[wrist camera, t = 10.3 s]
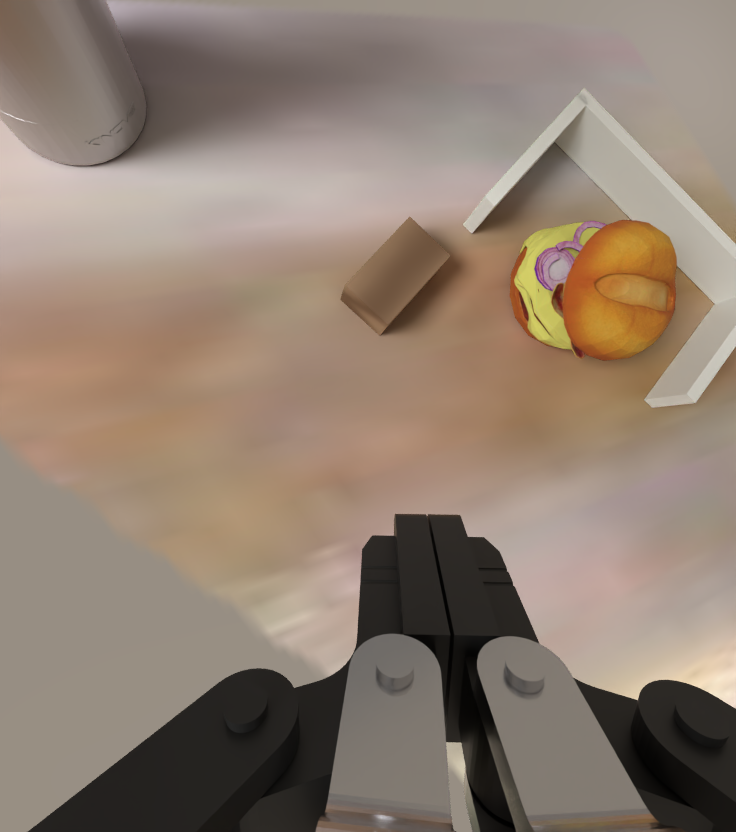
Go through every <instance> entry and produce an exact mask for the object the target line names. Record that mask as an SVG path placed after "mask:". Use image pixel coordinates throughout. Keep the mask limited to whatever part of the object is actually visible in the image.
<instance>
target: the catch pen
mask: <svg viewBox="0 0 736 832" xmlns="http://www.w3.org/2000/svg"><path fill="white" fill-rule="evenodd" d="M554 142H555V143H556V144H557V145H558V146H559V147H560V148H561V149H562V150H563V151H564V152H565V153H566V154H567V155H568V156H569V157H570V158H571V159H572V160H573V161H574V162H575V163H576V164H577V165H578V166H579V167H580V168H581V169H582V170H583V171H584V172H585V173H586V174H587V175H588V176H589V177H590V178H591V179H592V180H593V181H594V182H595V183H596V184H597V185H598V186H599V187H600V188H601V189H602V190H603V191H604V192H605V193H606V194H607V195H608V197H609V198H610V199H611V200H612V201H613V202H614V203H615V204H616V205H617V206H618V207H619V208H620V209H621V210H622V211H623V212H624V213H625V214H626V215H627V216H628V217H629V218H630V219H631V220H637V221H642V222H647V223H650V224H651V225H653V226H654V227H656V228H657V229H659V230H660V231H662V232H663V233H665V234H666V235H667V236H669V237H670V240H671V242H672V244H673V247H674V249H675V253H676V257H677V266H678V267H679V268H680V269H681V270H682V271H683V272H684V273H685V274H686V275H687V276H688V277H689V278H690V279H691V280H692V281H693V282H694V283H695V284H696V285H697V286H698V287H699V288H700V289H701V290H702V291H703V293H704V294H705V295H706V296H707V297H708V298H709V299H710V300H711V301H712V302H713V303H714V305H713V307H712V308H711V310H710V311H709V312H708V314H707V315H706V316H705V318H704V319H703V320H702V322H701V323H700V324H699V326H698V327H697V329H696V330H695V331H694V333H693V334H692V335H691V337H690V338H689V339H688V341H687V342H686V343H685V345H684V346H683V348H682V349H681V350H680V352H679V353H678V354H677V356H676V357H675V358H674V360H673V361H672V362H671V364H670V365H669V366H668V368H667V369H666V371H665V372H664V373H663V375H662V376H661V377H660V379H659V380H658V381H657V383H656V384H655V385H654V387H653V388H652V390H651V391H650V392H649V394H648V395H647V396H646V398H645V399H644V400H645V401H646V402H647V403H648V404H649V405H650V406H651V407H652V408H654V407H663V406H672V405H681V404H691V403H696V402H697V400H698V399H699V397H700V396H701V395H702V393H703V392H704V390H705V389H706V388H707V386H708V385H709V383H710V382H711V380H712V379H713V378H714V376H715V375H716V373H717V372H718V371H719V369H720V368H721V366H722V365H723V364H724V362H725V361H726V359H727V358H728V357H729V355H730V354H731V352H732V351H733V349H734V348H735V347H736V244H735V243H734V242H733V241H732V240H731V239H730V238H729V237H728V236H727V235H726V234H725V233H724V232H723V231H722V229H721V228H720V227H719V226H718V225H717V224H716V223H715V222H714V221H713V220H712V219H711V218H710V217H709V216H708V215H707V214H706V213H705V212H704V211H703V210H702V209H701V208H700V207H699V206H698V205H697V204H696V203H695V202H694V201H693V200H692V198H691V197H690V196H689V195H688V194H687V193H686V192H685V191H684V190H683V189H682V188H681V187H680V186H679V185H678V184H677V183H676V182H675V181H674V180H673V179H672V178H671V177H670V176H669V175H668V174H667V173H666V172H665V171H664V170H663V169H662V168H661V166H660V165H659V164H658V163H657V162H656V161H655V160H654V159H653V158H652V157H651V156H650V155H649V154H648V153H647V152H646V151H645V150H644V149H643V148H642V147H641V146H640V145H639V144H638V143H637V142H636V141H635V140H634V139H633V138H632V137H631V135H630V134H629V133H628V132H627V131H626V130H625V129H624V128H623V127H622V126H621V125H620V124H619V123H618V122H617V121H616V120H615V119H614V118H613V117H612V116H611V115H610V114H609V113H608V112H607V111H606V110H605V109H604V108H603V107H602V106H601V105H600V103H599V102H598V101H597V100H596V99H595V98H594V97H593V96H592V95H591V94H590V93H589V92H588V91H587V90H586V89H585V88H583V89H582V90H581V91H580V93H579V94H578V95H577V96H576V97H575V98H574V99H573V100H572V101H571V102H570V103H569V105H568V106H567V107H566V108H565V109H564V110H563V111H562V112H561V113H560V114H559V116H558V117H557V118H556V119H555V120H554V121H553V122H552V123H551V124H550V125H549V126H548V128H547V129H546V130H545V131H544V132H543V133H542V134H541V135H540V136H539V137H538V138H537V140H536V141H535V142H534V143H533V144H532V145H531V146H530V147H529V148H528V149H527V151H526V152H525V153H524V154H523V155H522V156H521V157H520V158H519V159H518V160H517V161H516V163H515V164H514V165H513V166H512V167H511V168H510V169H509V170H508V171H507V172H506V174H505V175H504V176H503V177H502V178H501V179H500V180H499V181H498V182H497V183H496V184H495V186H494V187H493V188H492V189H491V190H490V191H489V192H488V193H487V194H486V195H485V196H484V198H483V199H482V200H481V202H480V203H479V204H478V206H477V207H476V208H475V210H474V211H473V212H472V214H471V215H470V216H469V217H468V219H467V220H466V221H465V223H464V224H463V225H464V226H465V227H466V228H467V229H468V230H469V231H470V232H471V233H473V232H474V231H475V230H476V228H477V227H478V226H479V225H480V224H481V223H482V222H483V221H484V220H485V218H486V217H487V216H488V215H489V214H490V213H491V212H492V211H493V210H494V209H495V207H496V206H497V205H498V204H499V203H500V202H501V201H502V200H503V199H504V197H505V196H506V195H507V194H508V193H509V192H510V191H511V190H512V189H513V187H514V186H515V185H516V184H517V183H518V182H519V181H520V180H521V179H522V177H523V176H524V175H525V174H526V173H527V172H528V171H529V170H530V169H531V168H532V166H533V165H534V164H535V163H536V162H537V161H538V160H539V159H540V158H541V156H542V155H543V154H544V153H545V152H546V151H547V150H548V149H549V148H550V146H551V145H552V144H553V143H554Z"/></svg>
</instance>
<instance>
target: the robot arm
mask: <svg viewBox="0 0 736 832" xmlns="http://www.w3.org/2000/svg"><path fill="white" fill-rule="evenodd" d="M0 118H1V120H2V121H3V122H4V123H5V124H6V125H7V126H8V127H9V129H10V130H11V131H12V132H13V133H14V134H15V135H16V136H17V137H18V139H20V140H21V141H22V142H23V143H24V144H25V145H26V146H27V147H28V148H29V149H31V150H33V151H34V152H36V153H38V154H39V155H41V156H42V157H45V158H47V159H50V160H53V161H55V162H58V163H63V164H69V165H93V164H98V163H103V162H106V161H108V160H111V159H113V158H115V157H117V156H119V155H120V154H122V153H123V152H125V151H126V150H127V149H128V148H129V147H130V146H131V145H132V144H133V143H134V142H135V141H136V140H137V138H138V136H139V134H140V132H141V131H142V129H143V126H144V122H145V118H146V100H145V95H144V91H143V88H142V86H141V83H140V81H139V79H138V76H137V74H136V71H135V69H134V67H133V64H132V62H131V59H130V57H129V55H128V52H127V50H126V48H125V45H124V43H123V40H122V38H121V35H120V33H119V30H118V28H117V25H116V23H115V21H114V18H113V16H112V14H111V11H110V9H109V6H108V4H107V2H106V0H0ZM446 742H461V743H462V748H463V754H464V760H465V765H466V767H465V776H464V796H465V802H466V806H467V811H468V815H469V820H470V824H471V828H472V832H736V709H735V708H733V707H732V706H730V705H728V704H727V703H725V702H723V701H722V700H720V699H719V698H717V697H715V696H713V695H712V694H710V693H708V692H706V691H704V690H702V689H700V688H698V687H695V686H692V685H690V684H687V683H683V682H679V681H673V680H658V681H653V682H651V683H649V684H647V685H646V686H645V687H644V688H643V689H642V690H641V692H640V695H639V698H638V700H635V699H632V698H628V697H625V696H622V695H618V694H615V693H612V692H608V691H605V690H602V689H598V688H595V687H592V686H590V685H587V684H585V683H583V682H580V681H578V680H576V679H575V678H573V677H572V675H571V673H570V672H569V670H568V668H567V667H566V665H565V664H564V663H563V662H562V661H561V659H560V658H559V657H558V656H556V655H555V654H554V653H553V652H552V651H550V650H549V649H547V648H546V647H544V646H542V645H541V644H539V641H538V639H537V637H536V635H535V632H534V630H533V628H532V625H531V623H530V621H529V618H528V616H527V614H526V612H525V609H524V607H523V605H522V602H521V600H520V598H519V595H518V593H517V591H516V589H515V586H513V582H512V579H511V577H510V575H509V573H508V572H507V568H506V566H505V563H504V561H503V559H502V556H501V554H500V552H499V551H498V550H497V549H496V548H495V547H494V546H493V545H492V544H491V543H490V542H488V541H487V540H486V539H485V538H484V537H468V536H467V533H466V531H465V528H464V525H463V522H462V519H461V516H460V515H432V514H428V516H426V515H425V514H395V518H394V536H372V537H371V538H370V539H369V541H368V542H367V544H366V545H365V546H364V548H363V549H362V565H361V583H360V599H359V616H358V634H357V644H356V648H355V651H354V653H353V655H352V656H351V658H350V660H349V661H348V662H347V663H346V665H344V666H343V667H342V668H341V669H340V670H339V671H337V672H336V673H335V674H333V675H331V676H329V677H327V678H326V679H323V680H320V681H317V682H314V683H311V684H307V685H303V686H300V687H296V688H294V687H293V686H292V684H291V683H290V681H289V680H287V678H285V677H284V676H283V675H281V674H280V673H277V672H275V671H273V670H268V669H258V668H257V669H248V670H244V671H240V672H238V673H235V674H233V675H231V676H229V677H227V678H225V679H224V680H222V681H221V682H219V683H218V684H217V685H215V686H214V687H213V688H211V689H210V690H209V691H208V692H206V693H205V694H204V695H202V696H201V697H200V698H199V699H197V700H196V701H195V702H194V703H192V704H191V705H190V706H188V707H187V708H186V709H185V710H183V711H182V712H181V713H179V714H178V715H177V716H175V717H174V718H173V719H172V720H170V721H169V722H168V723H167V724H166V725H164V726H163V727H161V728H160V729H159V730H158V731H156V732H155V733H154V734H152V735H151V736H150V737H149V738H147V739H146V740H145V741H144V742H142V743H141V744H140V745H138V746H137V747H136V748H135V749H133V750H132V751H131V752H129V753H128V754H127V755H126V756H124V757H123V758H122V759H121V760H119V761H118V762H117V763H115V764H114V765H113V766H111V767H110V768H109V769H108V770H106V771H105V772H104V773H102V774H101V775H100V776H99V777H97V778H96V779H95V780H94V781H92V782H91V783H90V784H88V785H87V786H86V787H85V788H83V789H82V790H81V791H79V792H78V793H77V794H76V795H75V796H73V797H72V798H70V799H69V800H68V801H67V802H65V803H64V804H63V805H62V806H60V807H59V808H58V809H56V810H55V811H54V812H53V813H51V814H50V815H49V816H47V817H46V818H45V819H44V820H42V821H41V822H40V823H39V824H37V825H36V826H35V827H33V828H32V829H31V830H29V831H28V832H456V831H454V830H453V825H452V817H451V805H450V792H449V777H448V763H447V749H446Z"/></svg>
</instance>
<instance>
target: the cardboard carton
mask: <svg viewBox="0 0 736 832" xmlns="http://www.w3.org/2000/svg"><path fill="white" fill-rule="evenodd" d="M450 256H451V255H449V254H448V253H447V252H446V251H445V250H444V249H443V248H442V247H441V246H440V245H439V244H438V243H437V242H436V241H435V240H434V239H433V238H432V237H431V236H430V235H429V234H427V233H426V232H425V231H424V230H423V229H422V228H421V227H420V226H419V225H418V224H417V223H416V222H415V221H414V220H413V219H412V218H411V217H409V218H408V219H407V220H406V221H405V222H404V223H403V224H402V225H401V226H400V227H399V228H398V229H397V231H396V232H395V233H394V234H393V235H392V236H391V237H390V238H389V239H388V240H387V241H386V242H385V243H384V244H383V245H382V246H381V247H380V249H379V250H378V251H377V252H376V253H375V254H374V255H373V256H372V257H371V258H370V259H369V260H368V261H367V262H366V263H365V264H364V265H363V266H362V268H361V269H360V270H359V271H358V272H357V273H356V274H355V275H354V276H353V277H352V278H351V279H350V280H349V281H348V282H347V283H346V284H345V287H344V290H343V293H342V296H341V299H340V300H341V301H343V302H344V303H345V304H346V305H347V306H348V307H349V308H350V309H351V310H352V311H353V312H355V313H356V314H357V315H358V316H359V317H360V318H361V319H362V320H363V321H364V322H365V323H367V324H368V325H369V326H370V327H371V328H372V329H373V330H374V331H375V332H376V333H377V334H379V335H381V334H382V333H383V332H384V330H385V329H386V328H387V327H388V326H389V325H390V324H391V323H392V322H393V320H394V319H395V318H396V317H397V316H398V315H399V314H400V313H401V312H402V310H403V309H404V308H405V307H406V306H407V305H408V304H409V303H410V302H411V301H412V299H413V298H414V297H415V296H416V295H417V294H418V293H419V292H420V291H421V289H422V288H423V287H424V286H425V285H426V284H427V283H428V282H429V281H430V279H431V278H432V277H433V276H434V275H435V274H436V273H437V272H438V270H439V269H440V268H441V267H442V266H443V264H444V263H445V262H446V261H447V259H448V258H449V257H450Z"/></svg>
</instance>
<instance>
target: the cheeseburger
mask: <svg viewBox="0 0 736 832" xmlns="http://www.w3.org/2000/svg"><path fill="white" fill-rule="evenodd" d="M519 254H520V255H519V256H518V259H517V261H516V263H515V266H514V268H513V270H512V273H511V285H510V298H511V302H512V306H513V311H514V315H515V318H516V319H517V321H518V322H519V323H520V325H521V326H522V327H523V329H524V330H525V331H526V333H527V334H528V335H529V336H530V337H532V338H534V339H536V340H538V341H540V342H541V343H543V344H545V345H547V346H555V347H558V348H563V349H571V350H572V351H573V353H574V354H575V356H576V357H578V358H581V359H582V358H584V357H585V354H586V355H588V356H591V357H594V358H597V359H600V360H614V359H622V358H629V357H631V356H633V355H635V354H637V353H639V352H641V351H643V350H644V349H646V348H647V347H649V346H650V345H652V344H653V343H654V342H655V341H656V340H657V339H658V338H659V337H660V336H661V334H662V333H663V332H664V330H665V329H666V327H667V326H668V324H669V322H670V320H671V318H672V316H673V313H674V309H675V297H676V288H675V273H676V268H677V257H676V253H675V249H674V247H673V244H672V242H671V240H670V237H669V236H667V235H666V234H665V233H663V232H662V231H660V230H659V229H657V228H656V227H654V226H653V225H651V224H650V223H647V222H642V221H637V220H621V221H617V222H614V223H611V224H609V225H606V224H604V223H600V222H596V221H590V222H579V223H573V224H567V225H562V226H558V227H554V228H549V229H543V230H540V231H537V232H536V233H534V234H533V235H531V236H530V237H529V238H528V239H527V240H525V241H524V243H523V246H522V249H521V250H520V253H519Z"/></svg>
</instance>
